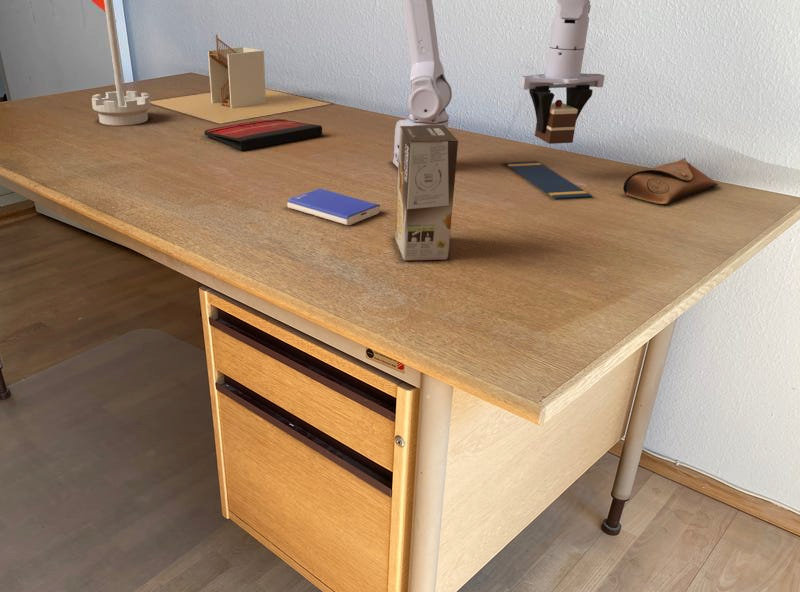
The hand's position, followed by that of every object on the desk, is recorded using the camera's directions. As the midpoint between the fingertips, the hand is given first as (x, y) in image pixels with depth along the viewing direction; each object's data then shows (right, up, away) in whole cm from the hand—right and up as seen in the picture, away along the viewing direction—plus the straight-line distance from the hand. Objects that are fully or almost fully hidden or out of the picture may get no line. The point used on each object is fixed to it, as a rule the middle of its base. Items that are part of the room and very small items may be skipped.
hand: (554, 131), depth 130 cm
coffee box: (-26, -25, -26) cm, 44 cm away
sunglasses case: (+20, -11, -1) cm, 23 cm away
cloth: (-1, -8, +4) cm, 9 cm away
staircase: (-63, +26, +61) cm, 92 cm away
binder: (-54, +8, +30) cm, 63 cm away
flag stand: (-88, +16, +43) cm, 99 cm away
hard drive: (-39, -17, -12) cm, 44 cm away
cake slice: (0, -1, +1) cm, 1 cm away
